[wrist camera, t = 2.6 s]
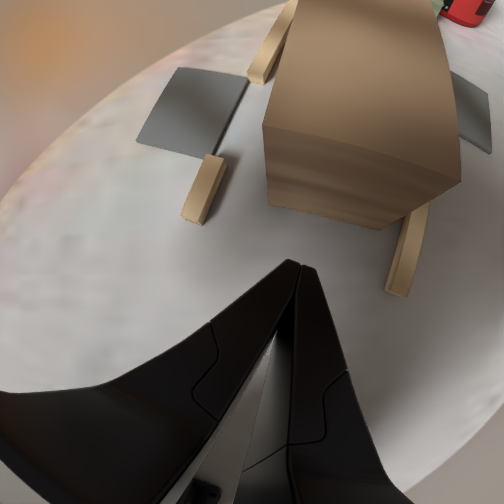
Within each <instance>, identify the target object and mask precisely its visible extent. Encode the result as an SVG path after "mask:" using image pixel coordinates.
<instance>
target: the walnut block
mask: <svg viewBox="0 0 504 504" xmlns="http://www.w3.org/2000/svg"><path fill="white" fill-rule="evenodd" d="M262 129H263V140H264V152H265V164H266V176H267V189H268V202H269V204H270V205H275V206H279V207H284V208H289V209H293V210H297V211H302V212H306V213H310V214H315V215H319V216H323V217H327V218H331V219H335V220H339V221H343V222H347V223H351V224H355V225H359V226H363V227H367V228H371V229H375V230H378V231H379V230H381V229H383V228H385V227H386V226H388V225H390V224H392V223H393V222H395V221H397V220H398V219H400V218H402V217H404V216H405V215H407V214H409V213H410V212H412V211H414V210H415V209H417V208H419V207H420V206H422V205H424V204H425V203H427V202H429V201H430V200H432V199H434V198H435V197H437V196H439V195H440V194H442V193H444V192H445V191H447V190H448V189H450V188H452V187H453V186H455V185H456V184H458V183H460V182H461V161H460V143H459V131H458V121H457V112H456V105H455V98H454V92H453V86H452V80H451V75H450V70H449V65H448V60H447V56H446V52H445V48H444V44H443V40H442V36H441V33H440V29H439V26H438V22H437V19H436V16H435V13H434V10H433V7H432V4H431V1H430V0H298V3H297V7H296V10H295V13H294V16H293V20H292V23H291V26H290V30H289V33H288V36H287V40H286V43H285V46H284V50H283V53H282V57H281V60H280V64H279V67H278V70H277V74H276V77H275V81H274V84H273V88H272V91H271V95H270V99H269V102H268V106H267V109H266V113H265V117H264V120H263V124H262Z"/></svg>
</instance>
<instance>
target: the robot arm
mask: <svg viewBox="0 0 504 504" xmlns="http://www.w3.org/2000/svg"><path fill="white" fill-rule="evenodd" d="M275 333H276V334H275ZM274 335H275V338H274V342H273V346H272V350H271V355H270V360H269V364H268V369H267V373H266V377H265V382H264V386H263V390H262V395H261V399H260V403H259V407H258V411H257V415H256V420H255V424H254V428H253V432H252V436H251V440H250V443H249V447H248V451H247V455H246V459H245V463H244V466H243V470H242V472H243V473H242V474H241V477H240V481H239V485H238V488H237V492H236V495H235V499H234V503H233V504H414V503H413V502H412V501H411V500H410V499H408V498H407V497H406V496H405V495H404V494H403V493H402V492H401V491H400V490H399V489H398V488H397V487H396V486H395V485H394V484H393V483H392V482H391V480H390V479H389V477H388V476H387V474H386V472H385V470H384V468H383V466H382V463H381V461H380V458H379V456H378V453H377V450H376V448H375V445H374V443H373V440H372V437H371V435H370V432H369V430H368V427H367V425H366V422H365V420H364V417H363V414H362V412H361V409H360V406H359V403H358V401H357V397H356V394H355V391H354V388H353V385H352V381H351V378H350V374H349V371H347V369H348V368H347V364H346V361H345V358H344V354H343V351H342V348H341V344H340V341H339V338H338V335H337V332H336V328H335V325H334V322H333V319H332V316H331V313H330V310H329V307H328V304H327V301H326V298H325V295H324V292H323V289H322V286H321V283H320V280H319V277H318V274H317V271H316V269H314V268H312V267H309V266H307V265H300V263H298V262H296V261H293V260H290V259H286V260H285V261H284V262H282V263H281V264H280V265H279V266H277V267H276V268H275V269H274V270H273V271H271V272H270V273H269V274H268V275H266V276H265V277H264V278H263V279H261V280H260V281H259V282H258V283H256V284H255V285H254V286H253V287H251V288H250V289H249V290H248V291H246V292H245V293H244V294H243V295H241V296H240V297H239V298H238V299H236V300H235V301H234V302H233V303H231V304H230V305H229V306H228V307H226V308H225V309H224V310H223V311H221V312H220V313H219V314H217V315H216V316H215V317H214V318H212V319H211V320H210V322H207V323H206V324H204V325H203V326H202V327H201V328H199V329H198V330H197V331H195V332H194V333H193V334H191V335H190V336H188V337H187V338H186V339H184V340H183V341H181V342H180V343H178V344H177V345H175V346H173V347H172V348H170V349H168V350H167V351H165V352H163V353H162V354H160V355H158V356H156V357H154V358H153V359H151V360H149V361H147V362H145V363H144V364H142V365H140V366H138V367H136V368H134V369H133V370H131V371H129V372H127V373H125V374H123V375H121V376H120V377H118V378H116V379H114V380H111V381H109V382H106V383H103V384H100V385H96V386H92V387H85V388H76V389H67V390H57V391H45V392H30V393H8V392H4V391H0V504H217V503H218V501H219V499H220V498H221V494H222V491H221V489H220V488H219V487H217V486H214V485H211V484H208V483H206V482H203V481H200V480H198V479H195V478H193V477H194V475H195V474H196V472H197V470H198V469H199V467H200V466H201V464H202V462H203V461H204V459H205V458H206V456H207V454H208V453H209V451H210V449H211V448H212V446H213V445H214V443H215V441H216V440H217V438H218V436H219V435H220V433H221V431H222V430H223V428H224V426H225V424H226V423H227V421H228V419H229V418H230V416H231V414H232V413H233V411H234V409H235V407H236V406H237V404H238V402H239V400H240V399H241V397H242V395H243V393H244V391H245V390H246V388H247V386H248V384H249V382H250V381H251V379H252V377H253V375H254V373H255V372H256V370H257V368H258V366H259V364H260V362H261V360H262V359H263V357H264V355H265V353H266V351H267V349H268V347H269V345H270V343H271V341H272V339H273V337H274ZM211 492H214V493H216V494H212V493H211Z"/></svg>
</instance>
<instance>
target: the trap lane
mask: <svg viewBox="0 0 504 504" xmlns="http://www.w3.org/2000/svg"><path fill="white" fill-rule="evenodd" d="M430 1H431V4H432V7H433V10H434V13H435V16H436V19H437V16H438V14H439V12H440V10H441V8H442V6H443V4H444V3H443V0H430ZM297 3H298V0H289V1H288V2H287V4H286V5H285V7H284V9H283V10H282V12H281V13H280V15H279V17H278V18H277V20H276V22H275V23H274V25H273V27H272V28H271V30H270V32H269V33H268V35H267V37H266V38H265V40H264V42H263V44H262V45H261V47H260V49H259V51H258V52H257V54H256V56H255V58H254V60H253V61H252V63H251V65H250V67H249V69H248V71H247V74H248V78H244V77H239V76H234V75H229V74H223V73H217V72H211V71H204V70H197V69H189V68H181V67H178V68H177V70H176V71H175V73H174V74H173V76H172V78H171V79H170V81H169V82H168V84H167V86H166V87H165V89H164V90H163V92H162V94H161V95H160V97H159V99H158V101H157V102H156V104H155V106H154V107H153V109H152V111H151V113H150V115H149V116H148V118H147V120H146V122H145V124H144V126H143V127H142V129H141V131H140V133H139V135H138V137H137V139H136V142H137V143H141V144H145V145H149V146H154V147H158V148H162V149H166V150H170V151H174V152H178V153H182V154H186V155H189V156H193V157H197V158H200V159H204V160H203V162H202V164H201V167H200V169H199V171H198V174H197V176H196V178H195V180H194V183H193V185H192V187H191V190H190V192H189V195H188V197H187V199H186V202H185V204H184V207H183V209H182V212H181V214H180V216H181V217H183V218H184V219H185V220H188V221H191V222H194V223H196V224H199V225H202V226H203V223H204V221H205V218H206V216H207V213H208V211H209V208H210V206H211V203H212V201H213V198H214V196H215V193H216V191H217V189H218V186H219V184H220V181H221V179H222V177H223V174H224V172H225V169H226V167H227V165H226V162H225V160H224V158H220V157H217V156H213V154H214V152H215V150H216V147H217V145H218V143H219V141H220V139H221V137H222V134H223V132H224V130H225V128H226V126H227V124H228V122H229V120H230V117H231V115H232V113H233V111H234V109H235V107H236V105H237V103H238V101H239V99H240V97H241V95H242V93H243V91H244V89H245V87H246V85H247V83H248V81H250V82H255V83H259V84H263V85H264V83H265V81H266V79H267V77H268V75H269V73H270V71H271V69H272V67H273V65H274V63H275V61H276V59H277V57H278V55H279V53H280V51H281V49H282V47H283V45H284V43H285V41H286V39H287V36H288V33H289V30H290V26H291V23H292V20H293V16H294V13H295V10H296V7H297ZM450 75H451V80H452V86H453V92H454V98H455V105H456V112H457V121H458V131H459V136H461V137H463V138H464V139H466V140H468V141H469V142H471V143H473V144H474V145H476V146H478V147H479V148H481V149H482V150H484V151H485V152H487V153H488V154H490V153H492V142H491V123H490V111H489V101H488V94H487V93H486V92H485V91H483V90H481V89H480V88H478V87H477V86H475V85H474V84H472V83H470V82H469V81H467V80H465V79H464V78H462V77H460V76H459V75H457V74H455V73H453V72H452V71H450ZM429 206H430V201H429V202H427V203H425V204H424V205H422V206H420V207H419V208H417V209H415V210H414V211H412V212H410V213H409V214H407V215H405V216H404V219H403V223H402V227H401V231H400V235H399V239H398V243H397V247H396V251H395V255H394V258H393V262H392V265H391V269H390V272H389V276H388V279H387V282H386V285H385V289H384V291H386V292H389V293H392V294H394V295H397V296H401V297H408V293H409V290H410V287H411V283H412V280H413V276H414V272H415V269H416V265H417V261H418V257H419V253H420V249H421V245H422V240H423V236H424V231H425V226H426V221H427V216H428V211H429Z"/></svg>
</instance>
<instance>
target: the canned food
mask: <svg viewBox="0 0 504 504" xmlns="http://www.w3.org/2000/svg"><path fill="white" fill-rule="evenodd" d="M494 1H495V0H443V3H444V4H443V6H442V8H441V10H440V12H439V14H441V15H442V16H444V17H446V18H447V19H449V20H451V21H453V22H455V23H457V24H460V25H462V26H466V27H475V26H477V25H479V24H480V23H481V22H482V20H483V19H484V17H485V16H486V14H487V12H488V11H489V9H490V8H491V6H492V5H493V3H494Z"/></svg>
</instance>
